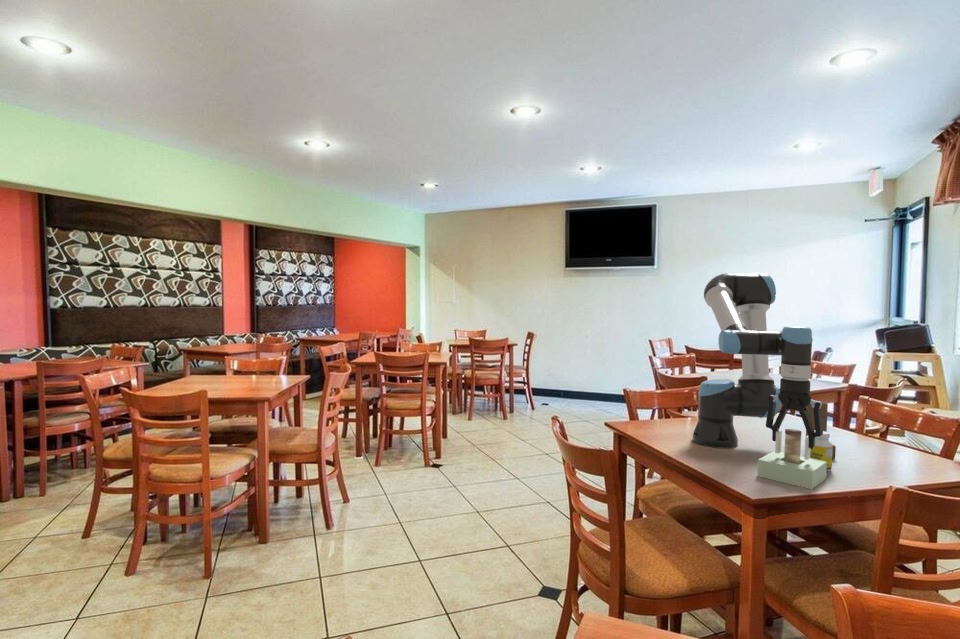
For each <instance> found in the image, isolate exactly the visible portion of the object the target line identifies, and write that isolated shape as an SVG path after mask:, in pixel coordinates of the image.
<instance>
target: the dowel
mask: <svg viewBox="0 0 960 639" xmlns="http://www.w3.org/2000/svg"><path fill="white" fill-rule="evenodd" d="M801 446H802V430H799V429H796V428H795V429H793V428H785V429H784V452H783V453H784V461H785V462H790V463H795V464H799V465H800V456H801V450H802V447H801Z"/></svg>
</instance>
